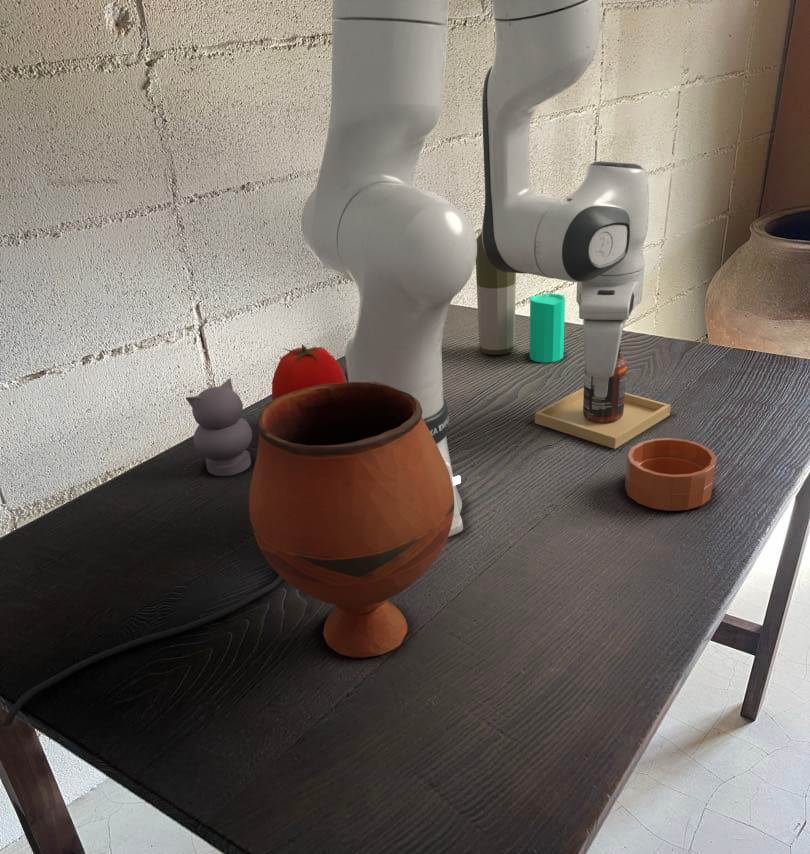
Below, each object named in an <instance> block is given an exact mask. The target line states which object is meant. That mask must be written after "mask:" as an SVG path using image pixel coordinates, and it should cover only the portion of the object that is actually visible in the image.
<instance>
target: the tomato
mask: <svg viewBox="0 0 810 854" xmlns="http://www.w3.org/2000/svg"><path fill="white" fill-rule="evenodd" d="M324 347H326V346H325V345H324V346H320V347H317V346H312V347H309V348H307V347H306V346H305V345H304V344H303V343H301V347H296V348H293V349H292V350H291V349H288V348H284V350H285V351H287V353H285V354H284V355H283V356H282V357H281V358H280V360H279V362H278V363H277V366H276V368H275V371H274V373H273V377H272V381H271V401H272V400H274V399H275V398H278V397H280V396H283V395H285V394H288V393H290V392H293V391H297V390H301V389H304V388H308V387H312V386H315V385H321V384H329V383H345V382H346V376H345V374H344V372H343V369H342V367H341V366H340V364H339V363H338V361H337V359H336V358H335V357H334V356H333V355H332V354H330V352H329V351H328V350H327V349H326V348H324Z"/></svg>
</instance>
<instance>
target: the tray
mask: <svg viewBox="0 0 810 854" xmlns="http://www.w3.org/2000/svg"><path fill="white" fill-rule="evenodd" d="M583 399H584V387H582V388H579V389H577V390H576V391H575V392H572V393H570V394H568V395H567V396H565V397H563V398H561V399H558V400H557V401H555V402H553V403H551V404H549V405H547V406H545V407H544V408H542V409H540V410H537V411H535V413H534V424H536V425H539V426H543V427H546V428H548V429H552V430H555V431H558V432H562V433H564V434H567V435H570V436H573V437H576V438H580V439H582V440H586V441H589V442H592V443H595V444H597V445H601V446H605V447H608V448H610V449H613V450H616V449H617V448H619V447H620V446H622V445H623V444H626V443H627V442H629V441H631V440H632V439H634V438H635V437H637V436H639V435H640V434H642V433H643V432H645V431H647V430H648V429H650V428H652V427H653V426H655V425H656V424H658V423H659V422H661V421H664V419H667V418H668V417H669V416H670V415H671V408H672V407H671V406H672V405H671V404H668V403H665V402H662V401H658V400H654V399H650V398H648V397H647V398H646V397H642V396H639V395H637V394H636V395H635V394H632V393H628V392H625V397H624V411H623V416H622V417H621V418H620V419H618V420H616V421H613V422H607V423H599V422H594V421H590V420H588V419H587V418H586V417H585V416H584V414H583Z"/></svg>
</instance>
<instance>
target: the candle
mask: <svg viewBox="0 0 810 854" xmlns="http://www.w3.org/2000/svg"><path fill="white" fill-rule="evenodd" d="M565 312H566V298H565V295H564V294H560V293H549V289H548V288H546V293H545V294H538V295H531V296H529V359H530V360H531V361H534V362H537V363H554V362H558V361H561V360H562V359H563V358H564V350H565V349H564V348H565V346H564V345H565V317H566V313H565Z"/></svg>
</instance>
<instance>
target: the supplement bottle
mask: <svg viewBox="0 0 810 854" xmlns="http://www.w3.org/2000/svg"><path fill="white" fill-rule="evenodd" d="M621 344H622V343H621V342H620V346H619V351H618V357H617V362H616V366H615V371H614V374H613V376H612V377H609V381H608V392H607V396H606V397H605V398H599V397H595V396H594V378H593V377H591V376H588V375H587V373H586V368H585V367H584V371H583V373H584V374H583V388H584V399H583V414H584V416H585V417H586V418H587V419H588V420H590V421H594V422H599V423H607V422H613V421H616V420H618V419H620V418H621V417H622V416H623V411H624V397H625V393H626V380H627V359H626V358H625V356H624V355H622V354H621V351H622V350H621V346H622V345H621Z"/></svg>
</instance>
